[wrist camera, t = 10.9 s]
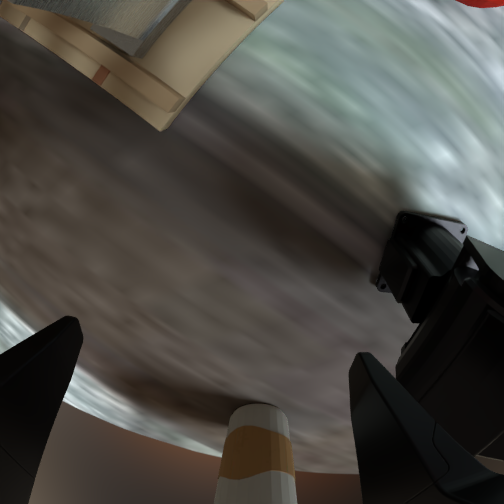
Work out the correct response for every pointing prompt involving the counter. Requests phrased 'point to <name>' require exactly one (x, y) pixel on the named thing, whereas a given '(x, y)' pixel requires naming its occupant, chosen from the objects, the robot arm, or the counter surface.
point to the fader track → (149, 52)
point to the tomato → (482, 3)
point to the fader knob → (119, 18)
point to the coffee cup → (257, 458)
